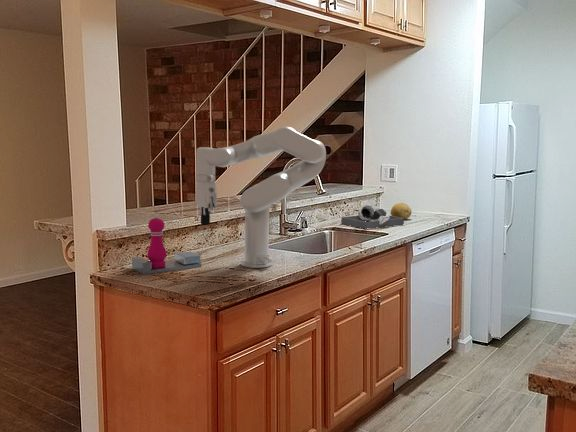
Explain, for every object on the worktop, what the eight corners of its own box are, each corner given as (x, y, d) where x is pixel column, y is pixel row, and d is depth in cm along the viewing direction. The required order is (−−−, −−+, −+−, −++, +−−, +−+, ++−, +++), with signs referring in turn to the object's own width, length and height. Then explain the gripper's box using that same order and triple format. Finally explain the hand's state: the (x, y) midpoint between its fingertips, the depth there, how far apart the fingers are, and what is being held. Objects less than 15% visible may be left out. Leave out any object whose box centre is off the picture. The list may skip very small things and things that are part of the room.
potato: (395, 217, 369) (395, 201, 367) (413, 219, 361) (414, 203, 359) (387, 219, 361) (387, 202, 359) (405, 221, 353) (406, 204, 351)
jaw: (200, 262, 232) (200, 255, 232) (184, 264, 228) (184, 257, 228) (190, 258, 239) (190, 251, 239) (174, 260, 235) (174, 253, 235)
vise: (201, 266, 232) (201, 255, 231) (143, 274, 218) (142, 263, 217) (189, 261, 241) (189, 250, 240) (132, 268, 227) (131, 257, 226)
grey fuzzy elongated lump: (353, 220, 347) (353, 203, 345) (367, 219, 351) (368, 203, 350) (377, 228, 325) (378, 210, 323) (392, 227, 329) (393, 209, 327)
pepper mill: (158, 262, 232) (157, 212, 229) (170, 265, 227) (169, 214, 224) (143, 266, 226) (142, 214, 223) (155, 269, 221) (154, 216, 219)
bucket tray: (403, 225, 339) (404, 218, 338) (366, 229, 322) (366, 222, 322) (377, 220, 356) (378, 213, 355) (341, 224, 339) (341, 217, 339)
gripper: (223, 180, 230) (222, 226, 233) (205, 176, 242) (204, 221, 245) (206, 180, 226) (205, 228, 229) (188, 177, 238) (188, 222, 241)
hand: (205, 224), depth 237 cm, fingers closed
